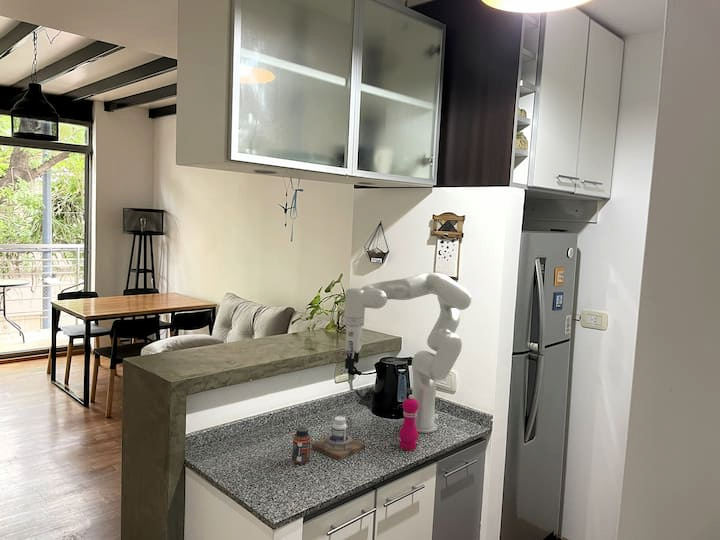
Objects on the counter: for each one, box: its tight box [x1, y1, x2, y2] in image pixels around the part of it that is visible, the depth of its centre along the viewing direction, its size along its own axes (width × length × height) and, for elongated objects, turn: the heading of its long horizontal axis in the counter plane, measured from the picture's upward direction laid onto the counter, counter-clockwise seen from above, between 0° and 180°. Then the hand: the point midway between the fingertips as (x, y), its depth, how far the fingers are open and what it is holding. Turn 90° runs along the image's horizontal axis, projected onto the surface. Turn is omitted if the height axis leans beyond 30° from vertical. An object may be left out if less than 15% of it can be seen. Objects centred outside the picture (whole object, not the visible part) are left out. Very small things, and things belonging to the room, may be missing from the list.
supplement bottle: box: [291, 426, 311, 465], centre depth 182 cm, size 6×6×11 cm
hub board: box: [310, 432, 366, 461], centre depth 194 cm, size 14×14×4 cm
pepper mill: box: [398, 394, 419, 451], centre depth 198 cm, size 7×7×20 cm
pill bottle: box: [331, 415, 348, 442], centre depth 194 cm, size 5×5×10 cm
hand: (351, 365), depth 202 cm, fingers open, 9 cm apart
